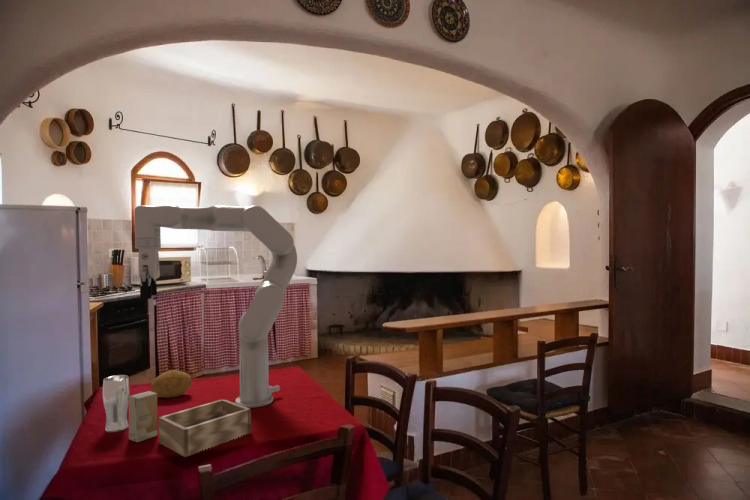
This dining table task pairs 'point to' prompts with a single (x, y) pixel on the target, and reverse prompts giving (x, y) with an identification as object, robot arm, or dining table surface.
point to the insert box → (204, 426)
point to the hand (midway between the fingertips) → (148, 297)
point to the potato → (171, 384)
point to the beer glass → (116, 402)
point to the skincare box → (142, 416)
